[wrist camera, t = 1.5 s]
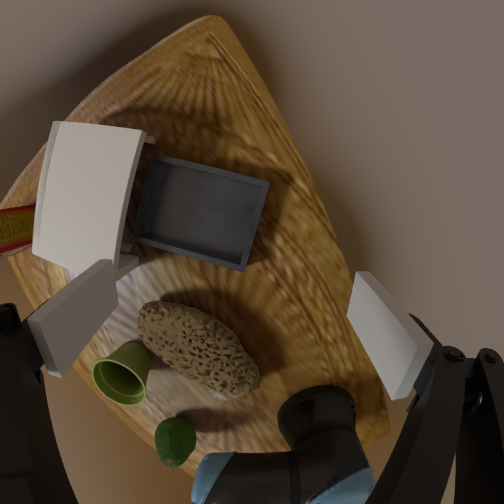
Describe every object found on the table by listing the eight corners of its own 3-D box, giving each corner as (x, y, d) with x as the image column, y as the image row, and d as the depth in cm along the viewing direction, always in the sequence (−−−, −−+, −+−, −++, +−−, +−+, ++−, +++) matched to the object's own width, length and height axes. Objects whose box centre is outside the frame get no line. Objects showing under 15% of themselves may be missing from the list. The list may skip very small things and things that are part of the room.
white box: (166, 139, 35) (143, 126, 26) (137, 266, 39) (110, 285, 30) (88, 128, 34) (54, 117, 25) (65, 241, 38) (32, 253, 29)
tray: (268, 183, 36) (270, 182, 33) (244, 266, 39) (244, 272, 36) (158, 156, 35) (151, 153, 32) (139, 236, 38) (131, 240, 35)
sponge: (268, 358, 44) (197, 270, 36) (267, 396, 37) (182, 307, 29) (205, 376, 47) (133, 302, 39) (198, 410, 40) (113, 336, 33)
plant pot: (123, 322, 41) (100, 348, 32) (170, 354, 42) (155, 385, 33) (106, 355, 42) (85, 382, 34) (148, 384, 43) (133, 414, 35)
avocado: (207, 422, 45) (199, 468, 34) (186, 436, 47) (176, 479, 35) (173, 402, 44) (158, 447, 33) (154, 418, 46) (139, 460, 34)
